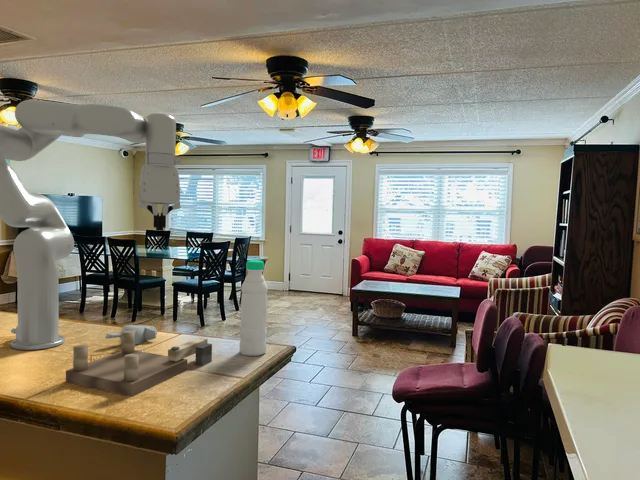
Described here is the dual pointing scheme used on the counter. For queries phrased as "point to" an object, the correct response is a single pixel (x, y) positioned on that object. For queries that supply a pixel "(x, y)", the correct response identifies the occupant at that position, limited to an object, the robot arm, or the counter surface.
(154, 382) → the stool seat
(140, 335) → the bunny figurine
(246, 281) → the water bottle
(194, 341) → the hinged leg
